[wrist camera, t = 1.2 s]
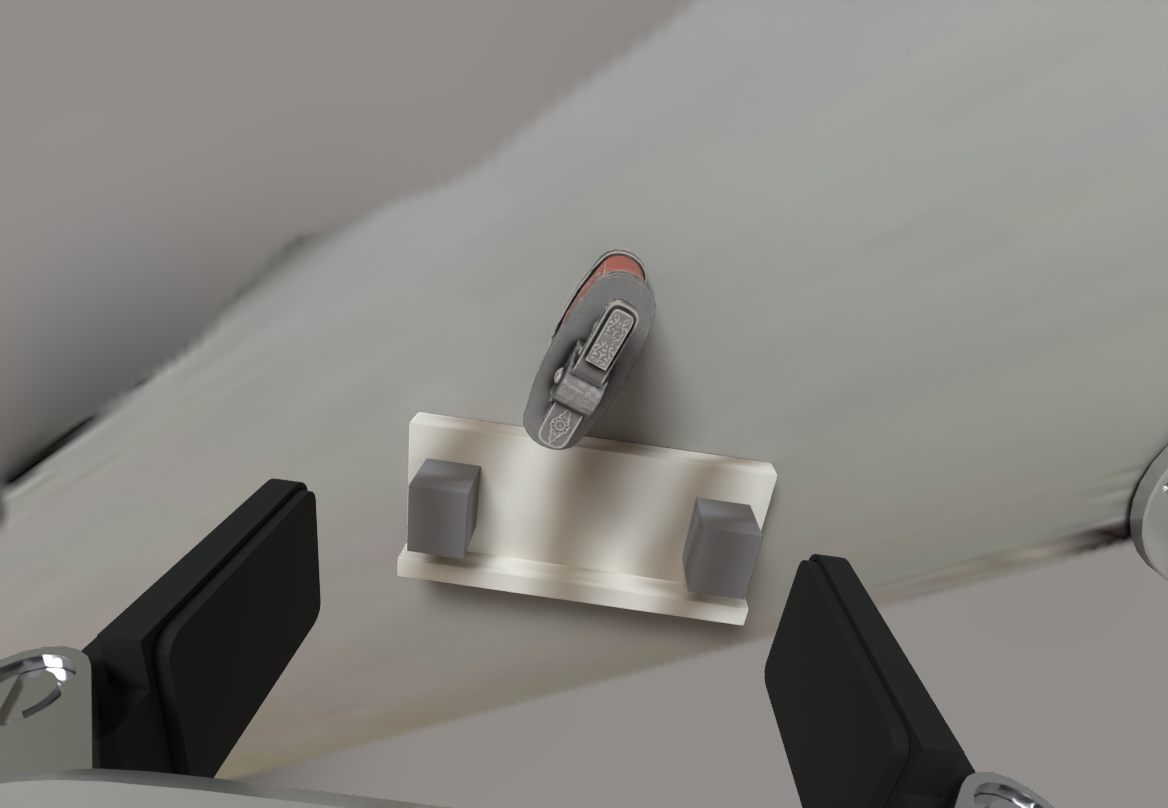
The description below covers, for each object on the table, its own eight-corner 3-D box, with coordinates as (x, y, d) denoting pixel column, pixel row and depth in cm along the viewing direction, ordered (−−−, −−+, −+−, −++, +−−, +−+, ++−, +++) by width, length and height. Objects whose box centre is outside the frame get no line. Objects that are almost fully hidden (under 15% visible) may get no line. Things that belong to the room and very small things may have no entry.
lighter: (585, 400, 32) (572, 494, 22) (530, 371, 31) (493, 455, 22) (661, 269, 29) (683, 315, 20) (602, 235, 28) (596, 266, 19)
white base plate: (770, 462, 33) (793, 505, 28) (733, 590, 36) (749, 645, 32) (418, 411, 32) (389, 447, 28) (414, 544, 36) (388, 593, 32)
